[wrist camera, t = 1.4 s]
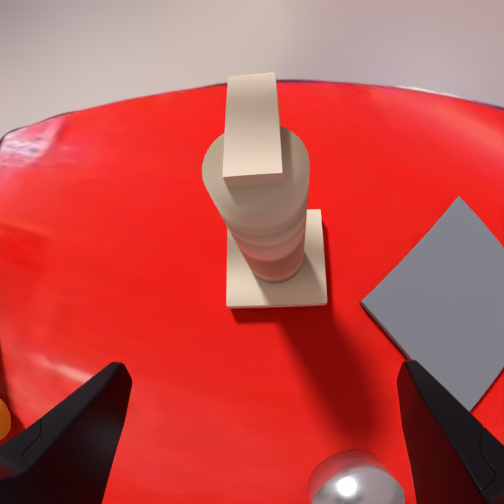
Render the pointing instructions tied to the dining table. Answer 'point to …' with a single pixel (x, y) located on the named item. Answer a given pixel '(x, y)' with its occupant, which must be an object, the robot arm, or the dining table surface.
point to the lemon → (4, 420)
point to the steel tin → (353, 481)
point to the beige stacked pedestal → (265, 202)
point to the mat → (448, 304)
